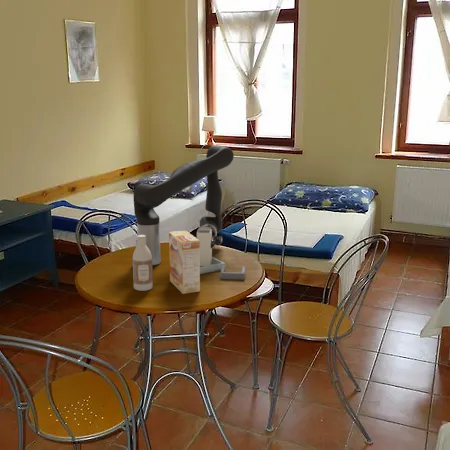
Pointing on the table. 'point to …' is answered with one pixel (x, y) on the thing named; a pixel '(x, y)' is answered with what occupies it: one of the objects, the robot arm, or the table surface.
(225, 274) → the dock
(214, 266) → the tray
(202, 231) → the box
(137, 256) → the bath foam
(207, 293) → the table surface
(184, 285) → the coffeecake box
